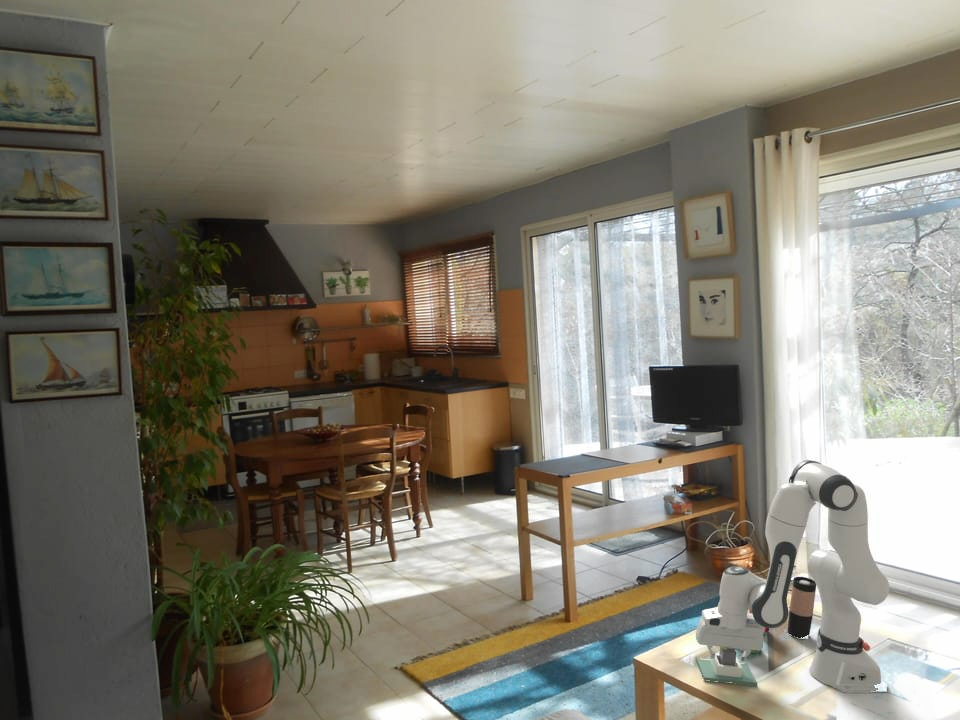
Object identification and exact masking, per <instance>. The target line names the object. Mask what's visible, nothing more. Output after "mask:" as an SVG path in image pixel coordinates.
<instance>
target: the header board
mask: <svg viewBox="0 0 960 720" xmlns="http://www.w3.org/2000/svg"><path fill="white" fill-rule="evenodd" d="M695 663H696V665H697V667H698V669H699V672H701V673H700V675H701V674H702V675H701V678H702V677H703V678H702V680H703V679H704V680H710V681H718V682H732V683H736V684H735V685H737V684H740V686H747V687H749V686H750V687H757V686H758V682H757V680H756V677H755V676H754V674H753V672H752V670H751V669H750V666H749V664H748V662H747V661H746V662H743V661H740V660H739V659H738V657H737V656H736V663H735V666H729V665H720V664H719V653H715V659H714V658H710V657H709V658H707V657H698V656H697V657H696V658H695ZM704 680H703V681H704ZM718 682H717V683H718Z"/></svg>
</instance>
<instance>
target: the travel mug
mask: <svg viewBox="0 0 960 720" xmlns="http://www.w3.org/2000/svg"><path fill="white" fill-rule="evenodd" d="M792 581H793V582H792V587H791V596H790V602H789V608H788V612H789V614H788V619H787V620H788V622H787V634H788V633H789V634H791V635H792V636H795V637H798V638H801V637H802V638H803V637H805V636H807V635H809V634H810V633H811V628H812V623H813V618H814V617H813V615H814V608H815V606H814V605H815V599H816V592H817V585H816V583H815V581H814V580H813V578H809V577H804V576H795V577H794V578H793V580H792ZM789 634H788V635H789ZM792 636H791V637H792ZM809 636H810V635H809Z"/></svg>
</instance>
